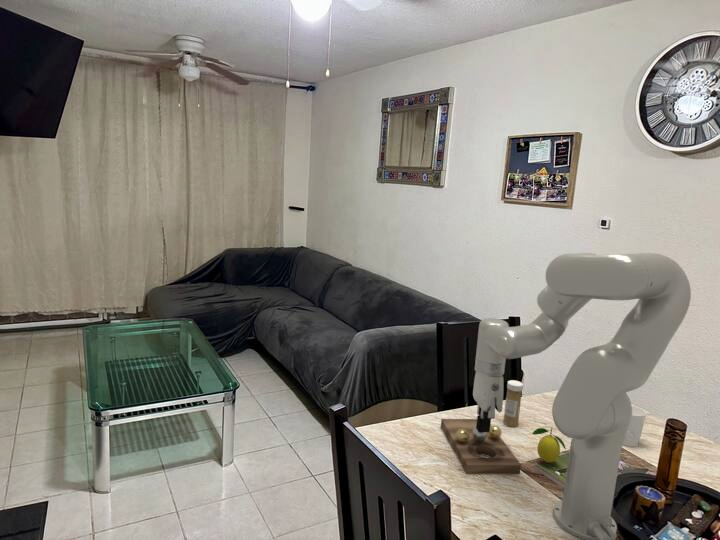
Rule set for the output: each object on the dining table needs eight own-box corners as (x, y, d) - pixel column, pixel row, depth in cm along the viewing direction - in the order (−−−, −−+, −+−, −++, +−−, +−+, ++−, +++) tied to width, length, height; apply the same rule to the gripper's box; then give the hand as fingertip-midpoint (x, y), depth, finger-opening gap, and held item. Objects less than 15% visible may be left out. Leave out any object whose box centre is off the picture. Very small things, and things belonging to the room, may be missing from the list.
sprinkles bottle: (521, 425, 148) (526, 384, 146) (511, 428, 146) (516, 386, 143) (509, 419, 152) (514, 378, 150) (499, 422, 149) (504, 381, 147)
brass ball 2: (502, 441, 133) (504, 429, 132) (490, 441, 133) (491, 429, 132) (497, 434, 136) (499, 423, 136) (485, 434, 136) (487, 423, 135)
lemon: (528, 457, 130) (533, 422, 129) (546, 454, 132) (550, 420, 131) (546, 471, 124) (551, 435, 123) (564, 467, 126) (569, 432, 125)
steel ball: (484, 423, 134) (482, 436, 135) (470, 423, 134) (468, 436, 134) (490, 430, 131) (488, 444, 131) (476, 430, 130) (474, 443, 130)
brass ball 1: (469, 445, 130) (471, 433, 129) (457, 445, 129) (458, 433, 129) (465, 438, 133) (466, 426, 133) (453, 438, 133) (454, 426, 132)
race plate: (520, 473, 122) (521, 464, 122) (466, 474, 121) (467, 464, 120) (486, 426, 146) (486, 419, 145) (440, 426, 144) (441, 418, 144)
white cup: (610, 443, 141) (615, 410, 139) (610, 431, 148) (615, 401, 146) (641, 451, 137) (646, 418, 135) (640, 439, 144) (645, 407, 142)
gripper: (515, 377, 120) (507, 445, 123) (493, 356, 135) (486, 417, 138) (486, 376, 119) (478, 445, 122) (466, 355, 134) (460, 417, 137)
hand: (482, 430), depth 130 cm, fingers closed
